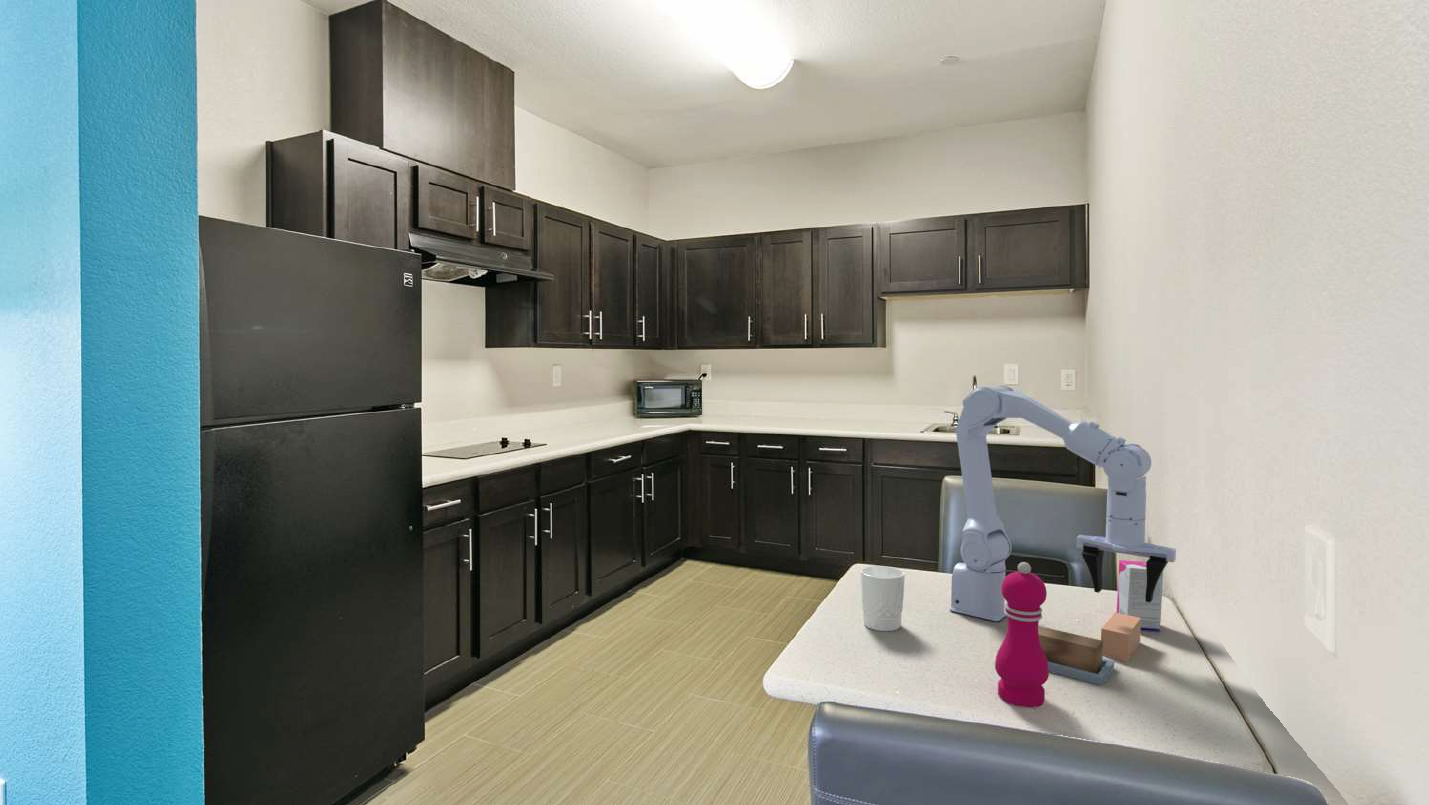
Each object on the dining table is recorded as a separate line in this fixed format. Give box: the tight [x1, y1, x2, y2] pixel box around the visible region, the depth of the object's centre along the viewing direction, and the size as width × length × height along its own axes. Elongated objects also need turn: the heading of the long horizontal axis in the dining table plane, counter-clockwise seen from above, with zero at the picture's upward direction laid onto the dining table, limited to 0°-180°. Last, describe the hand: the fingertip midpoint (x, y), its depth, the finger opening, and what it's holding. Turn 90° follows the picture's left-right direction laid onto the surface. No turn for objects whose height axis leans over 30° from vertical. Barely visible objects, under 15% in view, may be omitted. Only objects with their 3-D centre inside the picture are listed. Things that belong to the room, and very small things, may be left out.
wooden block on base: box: [1038, 625, 1103, 674], centre depth 116 cm, size 11×4×5 cm, turn 49°
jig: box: [1047, 657, 1115, 686], centre depth 116 cm, size 15×14×1 cm
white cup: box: [860, 565, 906, 632], centre depth 133 cm, size 8×8×10 cm
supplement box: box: [1115, 559, 1164, 632], centre depth 133 cm, size 6×6×12 cm
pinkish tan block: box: [1100, 612, 1142, 662], centre depth 122 cm, size 4×10×5 cm, turn 139°
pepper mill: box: [994, 561, 1050, 708], centre depth 104 cm, size 7×7×20 cm
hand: (1123, 595), depth 122 cm, fingers open, 7 cm apart
